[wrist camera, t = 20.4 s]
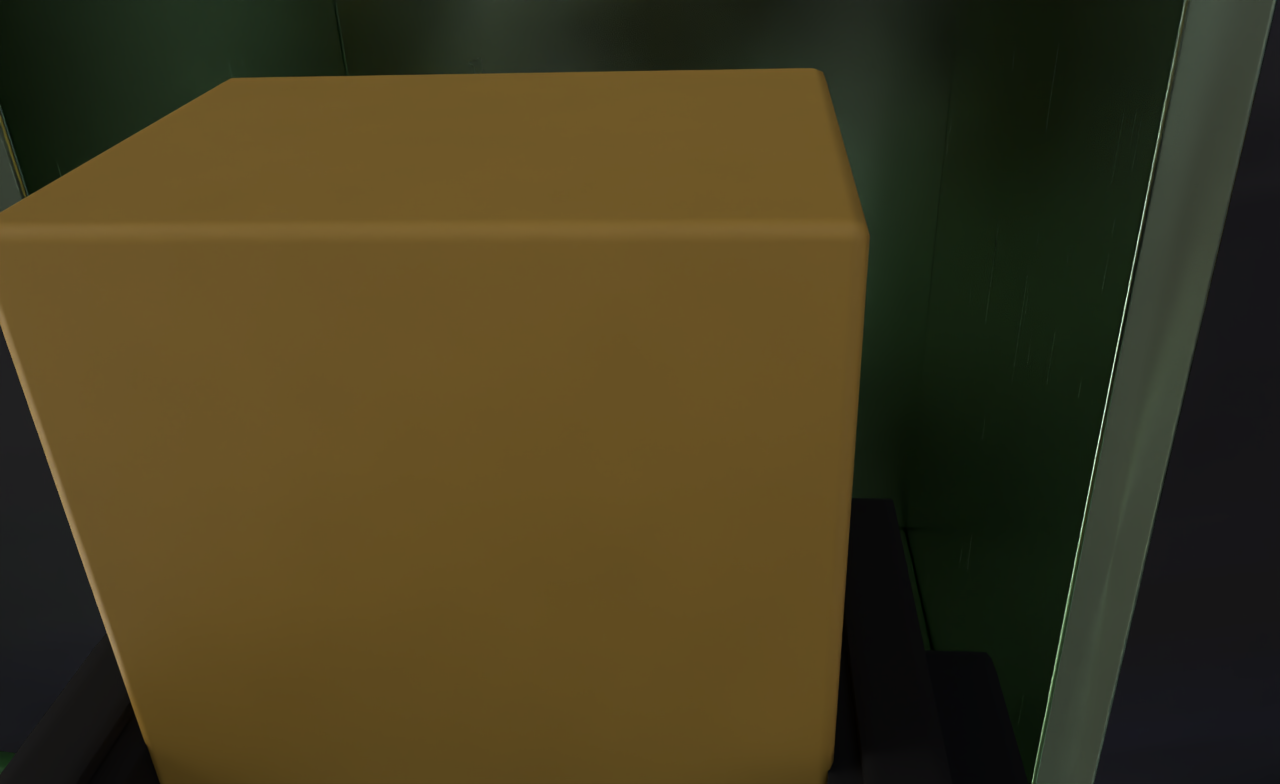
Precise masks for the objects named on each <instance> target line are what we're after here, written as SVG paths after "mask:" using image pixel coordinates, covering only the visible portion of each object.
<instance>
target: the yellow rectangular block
mask: <svg viewBox="0 0 1280 784" xmlns="http://www.w3.org/2000/svg"><path fill="white" fill-rule="evenodd" d="M869 241H870V235H869V231H868V227H867V224H866V220H865V217H864V213H863V210H862V206H861V203H860V199H859V195H858V192H857V188H856V185H855V181H854V178H853V174H852V171H851V167H850V163H849V160H848V156H847V153H846V149H845V146H844V142H843V139H842V135H841V131H840V128H839V124H838V121H837V117H836V114H835V110H834V107H833V103H832V99H831V96H830V92H829V89H828V85H827V82H826V79H825V76H824V74H823V72H822V71H819V70H817V69H814V68H789V69H730V70H671V71H612V72H553V73H494V74H435V75H376V76H317V77H258V78H231V79H229V80H227V81H225V82H223V83H221V84H220V85H218V86H216V87H215V88H213V89H211V90H209V91H208V92H206V93H204V94H203V95H201V96H199V97H197V98H196V99H194V100H192V101H191V102H189V103H187V104H185V105H184V106H182V107H180V108H179V109H177V110H175V111H173V112H172V113H170V114H168V115H167V116H165V117H163V118H161V119H160V120H158V121H156V122H155V123H153V124H151V125H149V126H148V127H146V128H144V129H143V130H141V131H139V132H137V133H136V134H134V135H132V136H131V137H129V138H127V139H125V140H124V141H122V142H120V143H118V144H117V145H115V146H113V147H112V148H110V149H108V150H106V151H105V152H103V153H101V154H100V155H98V156H96V157H94V158H93V159H91V160H89V161H88V162H86V163H84V164H82V165H81V166H79V167H77V168H76V169H74V170H72V171H70V172H69V173H67V174H65V175H64V176H62V177H60V178H58V179H57V180H55V181H53V182H52V183H50V184H48V185H46V186H45V187H43V188H41V189H40V190H38V191H36V192H34V193H33V194H31V195H29V196H28V197H26V198H24V199H22V200H21V201H19V202H17V203H15V204H14V205H12V206H10V207H9V208H7V209H5V210H3V211H2V212H0V325H1V328H2V331H3V333H4V336H5V339H6V342H7V345H8V348H9V351H10V354H11V357H12V360H13V362H14V365H15V368H16V371H17V374H18V377H19V380H20V383H21V386H22V388H23V391H24V394H25V397H26V400H27V403H28V406H29V409H30V412H31V415H32V417H33V420H34V423H35V426H36V429H37V432H38V435H39V438H40V441H41V443H42V446H43V449H44V452H45V455H46V458H47V461H48V464H49V467H50V470H51V472H52V475H53V478H54V481H55V484H56V487H57V490H58V493H59V496H60V498H61V501H62V504H63V507H64V510H65V513H66V516H67V519H68V522H69V525H70V527H71V530H72V533H73V536H74V539H75V542H76V545H77V548H78V551H79V553H80V556H81V559H82V562H83V565H84V568H85V571H86V574H87V577H88V580H89V582H90V585H91V588H92V591H93V594H94V597H95V600H96V603H97V606H98V608H99V611H100V614H101V617H102V620H103V623H104V626H105V629H106V632H107V634H108V637H109V640H110V643H111V646H112V649H113V652H114V655H115V658H116V661H117V663H118V666H119V669H120V672H121V675H122V678H123V681H124V684H125V687H126V689H127V692H128V695H129V698H130V701H131V704H132V707H133V710H134V713H135V716H136V718H137V721H138V724H139V727H140V730H141V733H142V736H143V739H144V742H145V744H146V745H147V747H148V750H149V753H150V756H151V759H152V762H153V765H154V767H155V770H156V773H157V776H158V779H159V782H160V784H827V777H828V770H830V768H831V766H832V764H833V761H834V747H835V732H836V718H837V703H838V689H839V675H840V660H841V646H842V631H843V617H844V602H845V588H846V573H847V559H848V544H849V530H850V516H851V501H852V487H853V472H854V458H855V443H856V429H857V414H858V400H859V385H860V371H861V357H862V342H863V328H864V313H865V299H866V284H867V270H868V255H869Z"/></svg>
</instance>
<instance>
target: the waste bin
mask: <svg viewBox="0 0 1280 784" xmlns="http://www.w3.org/2000/svg"><path fill="white" fill-rule="evenodd" d="M1276 4H1277V0H0V212H2V211H3V210H5V209H7V208H9V207H10V206H12V205H14V204H15V203H17V202H19V201H21V200H22V199H24V198H26V197H28V196H29V195H31V194H33V193H34V192H36V191H38V190H40V189H41V188H43V187H45V186H46V185H48V184H50V183H52V182H53V181H55V180H57V179H58V178H60V177H62V176H64V175H65V174H67V173H69V172H70V171H72V170H74V169H76V168H77V167H79V166H81V165H82V164H84V163H86V162H88V161H89V160H91V159H93V158H94V157H96V156H98V155H100V154H101V153H103V152H105V151H106V150H108V149H110V148H112V147H113V146H115V145H117V144H118V143H120V142H122V141H124V140H125V139H127V138H129V137H131V136H132V135H134V134H136V133H137V132H139V131H141V130H143V129H144V128H146V127H148V126H149V125H151V124H153V123H155V122H156V121H158V120H160V119H161V118H163V117H165V116H167V115H168V114H170V113H172V112H173V111H175V110H177V109H179V108H180V107H182V106H184V105H185V104H187V103H189V102H191V101H192V100H194V99H196V98H197V97H199V96H201V95H203V94H204V93H206V92H208V91H209V90H211V89H213V88H215V87H216V86H218V85H220V84H221V83H223V82H225V81H227V80H229V79H231V78H258V77H317V76H376V75H435V74H494V73H553V72H612V71H671V70H730V69H789V68H814V69H817V70H819V71H822V72H823V74H824V76H825V79H826V82H827V85H828V89H829V92H830V96H831V99H832V103H833V107H834V110H835V114H836V117H837V121H838V124H839V128H840V131H841V135H842V139H843V142H844V146H845V149H846V153H847V156H848V160H849V163H850V167H851V171H852V174H853V178H854V181H855V185H856V188H857V192H858V195H859V199H860V203H861V206H862V210H863V213H864V217H865V220H866V224H867V227H868V231H869V235H870V241H869V255H868V270H867V284H866V299H865V313H864V328H863V342H862V357H861V371H860V385H859V400H858V414H857V429H856V443H855V458H854V472H853V487H852V498H884V499H892V500H893V503H894V506H895V510H896V515H897V520H898V525H899V530H900V534H901V539H902V544H903V549H904V554H905V558H906V563H907V568H908V573H909V578H910V582H911V587H912V592H913V597H914V601H915V606H916V611H917V616H918V621H919V625H920V630H921V635H922V640H923V645H924V649H925V650H933V651H968V652H987V654H988V655H989V656H990V657H991V658H992V661H993V664H994V666H995V669H996V671H997V675H998V678H999V682H1000V685H1001V689H1002V692H1003V696H1004V699H1005V703H1006V706H1007V710H1008V713H1009V717H1010V720H1011V724H1012V727H1013V731H1014V734H1015V738H1016V741H1017V745H1018V749H1019V752H1020V756H1021V759H1022V763H1023V766H1024V770H1025V773H1026V777H1027V780H1028V784H1094V781H1095V777H1096V773H1097V769H1098V764H1099V760H1100V756H1101V752H1102V747H1103V743H1104V739H1105V735H1106V730H1107V726H1108V722H1109V717H1110V713H1111V709H1112V705H1113V700H1114V696H1115V692H1116V688H1117V683H1118V679H1119V675H1120V670H1121V666H1122V662H1123V658H1124V653H1125V649H1126V645H1127V641H1128V636H1129V632H1130V628H1131V624H1132V619H1133V615H1134V611H1135V606H1136V602H1137V598H1138V594H1139V589H1140V585H1141V581H1142V577H1143V572H1144V568H1145V564H1146V559H1147V555H1148V551H1149V547H1150V542H1151V538H1152V534H1153V530H1154V525H1155V521H1156V517H1157V512H1158V508H1159V504H1160V500H1161V495H1162V491H1163V487H1164V483H1165V478H1166V474H1167V470H1168V466H1169V461H1170V457H1171V453H1172V448H1173V444H1174V440H1175V436H1176V431H1177V427H1178V423H1179V419H1180V414H1181V410H1182V406H1183V401H1184V397H1185V393H1186V389H1187V384H1188V380H1189V376H1190V372H1191V367H1192V363H1193V359H1194V354H1195V350H1196V346H1197V342H1198V337H1199V333H1200V329H1201V325H1202V320H1203V316H1204V312H1205V308H1206V303H1207V299H1208V295H1209V290H1210V286H1211V282H1212V278H1213V273H1214V269H1215V265H1216V261H1217V256H1218V252H1219V248H1220V243H1221V239H1222V235H1223V231H1224V226H1225V222H1226V218H1227V214H1228V209H1229V205H1230V201H1231V197H1232V192H1233V188H1234V184H1235V179H1236V175H1237V171H1238V167H1239V162H1240V158H1241V154H1242V150H1243V145H1244V141H1245V137H1246V132H1247V128H1248V124H1249V120H1250V115H1251V111H1252V107H1253V103H1254V98H1255V94H1256V90H1257V85H1258V81H1259V77H1260V73H1261V68H1262V64H1263V60H1264V56H1265V51H1266V47H1267V43H1268V39H1269V34H1270V30H1271V26H1272V21H1273V17H1274V13H1275V9H1276Z"/></svg>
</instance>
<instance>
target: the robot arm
mask: <svg viewBox="0 0 1280 784" xmlns="http://www.w3.org/2000/svg"><path fill="white" fill-rule="evenodd" d="M0 784H160V782H159V779H158V776H157V773H156V770H155V767H154V765H153V762H152V759H151V756H150V753H149V750H148V747H147V745H146V744H145V742H144V739H143V736H142V733H141V730H140V727H139V724H138V721H137V718H136V716H135V713H134V710H133V707H132V704H131V701H130V698H129V695H128V692H127V689H126V687H125V684H124V681H123V678H122V675H121V672H120V669H119V666H118V663H117V661H116V658H115V655H114V652H113V649H112V646H111V643H110V640H109V637H108V634H107V633H106V635H105V636H104V638H103V639H102V640H101V641H100V642H99V643H98V644H97V645H96V647H95V648H94V649H93V651H92V652H91V653H90V655H89V656H88V657H87V659H86V660H85V661H84V663H83V664H82V665H81V667H80V668H79V669H78V671H77V672H76V673H75V675H74V676H73V677H72V679H71V680H70V681H69V683H68V684H67V685H66V687H65V688H64V689H63V691H62V692H61V693H60V695H59V696H58V697H57V699H56V700H55V702H54V703H53V704H52V706H51V707H50V708H49V710H48V711H47V712H46V714H45V715H44V716H43V718H42V719H41V720H40V722H39V723H38V724H37V726H36V727H35V728H34V730H33V731H32V732H31V734H30V735H29V736H28V738H27V739H26V740H25V742H24V743H23V744H22V746H21V747H20V748H19V750H18V751H17V752H16V754H15V755H14V756H13V758H12V759H11V761H10V762H9V763H8V765H7V766H6V767H5V769H4V770H3V771H2V773H1V774H0ZM827 784H1028V780H1027V777H1026V773H1025V770H1024V766H1023V763H1022V759H1021V756H1020V752H1019V749H1018V745H1017V741H1016V738H1015V734H1014V731H1013V727H1012V724H1011V720H1010V717H1009V713H1008V710H1007V706H1006V703H1005V699H1004V696H1003V692H1002V689H1001V685H1000V682H999V678H998V675H997V671H996V669H995V666H994V664H993V661H992V658H991V657H990V656H989V655H988V654H987V652H968V651H933V650H925V649H924V645H923V640H922V635H921V630H920V625H919V621H918V616H917V611H916V606H915V601H914V597H913V592H912V587H911V582H910V578H909V573H908V568H907V563H906V558H905V554H904V549H903V544H902V539H901V534H900V530H899V525H898V520H897V515H896V510H895V506H894V503H893V500H892V499H884V498H852V501H851V516H850V530H849V544H848V559H847V573H846V588H845V602H844V617H843V631H842V646H841V660H840V675H839V689H838V703H837V718H836V732H835V747H834V761H833V764H832V766H831V768H830V770H828V777H827Z"/></svg>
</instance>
